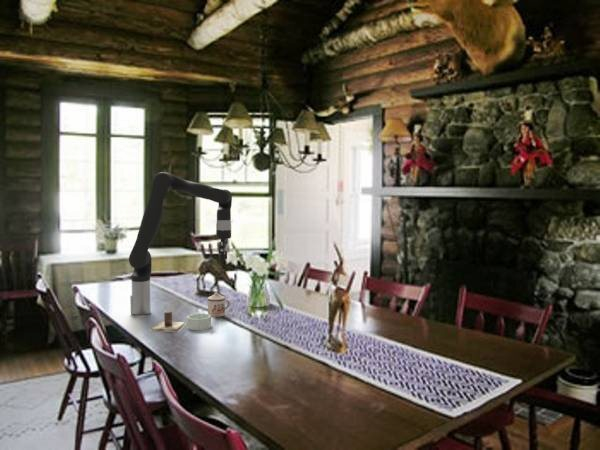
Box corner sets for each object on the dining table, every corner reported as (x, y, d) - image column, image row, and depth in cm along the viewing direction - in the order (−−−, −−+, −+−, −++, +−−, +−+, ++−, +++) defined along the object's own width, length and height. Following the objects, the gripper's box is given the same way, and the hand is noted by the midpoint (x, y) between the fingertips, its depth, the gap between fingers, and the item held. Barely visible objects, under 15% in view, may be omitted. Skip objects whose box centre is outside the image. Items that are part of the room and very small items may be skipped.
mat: (148, 332, 236) (148, 331, 235) (158, 323, 249) (158, 322, 249) (178, 333, 235) (178, 331, 235) (187, 324, 249) (187, 323, 249)
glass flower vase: (242, 305, 288) (242, 273, 286) (254, 300, 299) (254, 270, 298) (261, 308, 282) (261, 275, 281) (274, 303, 293) (274, 272, 292)
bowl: (184, 330, 238) (184, 319, 238) (190, 324, 249) (190, 313, 248) (207, 331, 237) (207, 319, 237) (213, 324, 248) (212, 313, 248)
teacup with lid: (212, 318, 261) (211, 295, 260) (204, 314, 268) (204, 292, 267) (233, 314, 267) (233, 292, 266) (225, 311, 275) (225, 289, 274)
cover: (151, 330, 236) (151, 315, 236) (160, 323, 248) (159, 309, 248) (177, 331, 236) (176, 316, 235) (184, 324, 248) (184, 309, 247)
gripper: (218, 227, 270) (218, 258, 272) (214, 230, 256) (214, 262, 257) (232, 227, 270) (232, 258, 272) (229, 230, 256) (229, 262, 257)
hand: (223, 260), depth 264 cm, fingers open, 8 cm apart
